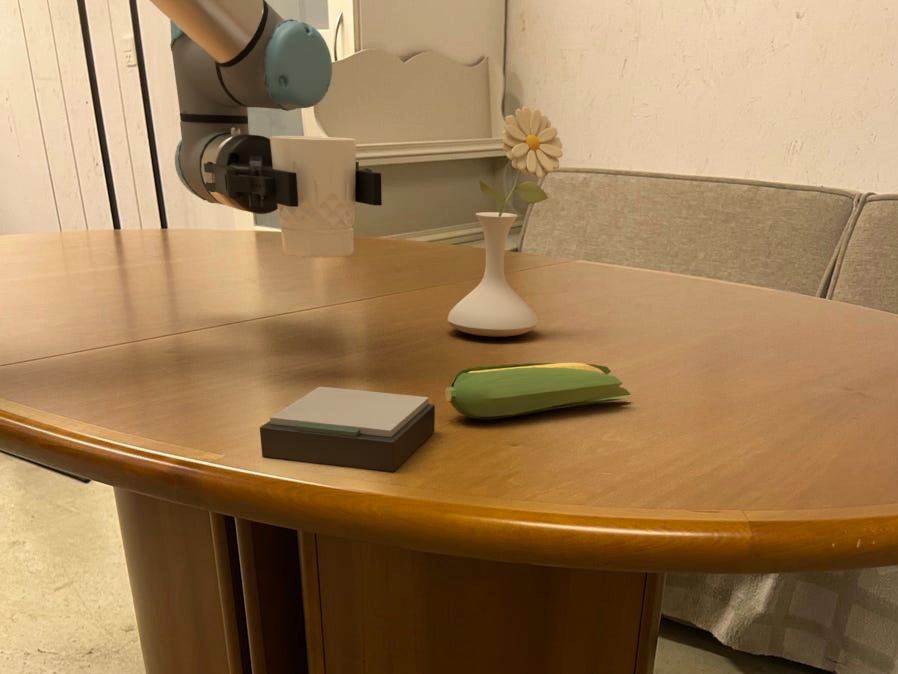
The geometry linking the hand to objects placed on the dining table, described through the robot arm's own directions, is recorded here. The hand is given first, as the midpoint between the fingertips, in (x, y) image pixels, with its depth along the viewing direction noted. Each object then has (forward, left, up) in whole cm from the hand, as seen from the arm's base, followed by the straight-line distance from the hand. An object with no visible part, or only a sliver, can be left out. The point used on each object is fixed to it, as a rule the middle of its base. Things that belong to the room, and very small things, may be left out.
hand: (336, 189), depth 84 cm
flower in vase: (+29, +12, -18) cm, 36 cm away
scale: (-9, -17, -18) cm, 26 cm away
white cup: (0, +5, -6) cm, 8 cm away
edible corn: (+11, -18, -18) cm, 28 cm away
